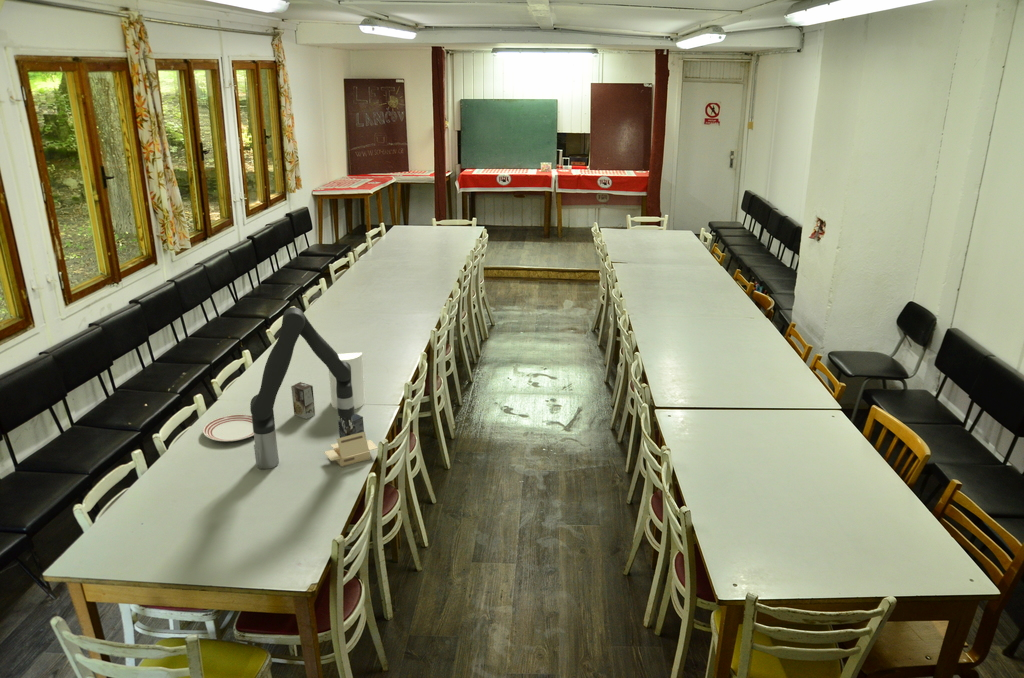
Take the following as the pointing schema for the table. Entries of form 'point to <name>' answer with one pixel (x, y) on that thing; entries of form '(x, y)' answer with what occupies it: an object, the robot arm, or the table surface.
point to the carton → (349, 460)
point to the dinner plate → (230, 428)
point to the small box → (357, 423)
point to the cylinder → (356, 379)
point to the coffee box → (303, 400)
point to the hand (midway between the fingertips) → (348, 438)
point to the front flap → (352, 444)
